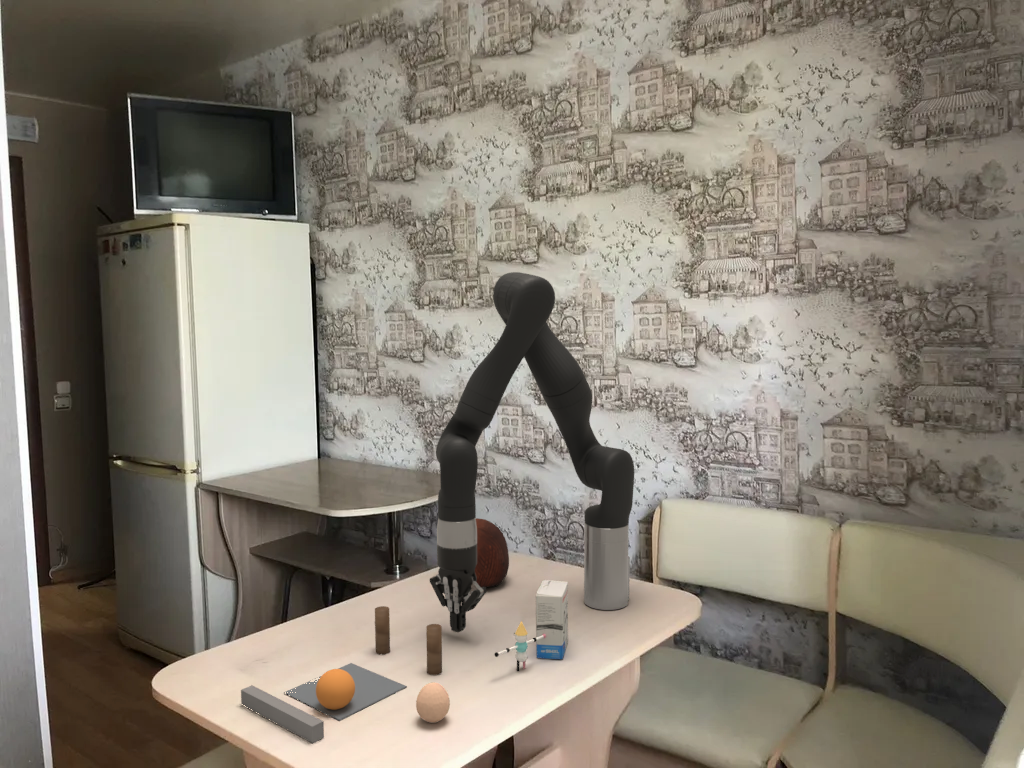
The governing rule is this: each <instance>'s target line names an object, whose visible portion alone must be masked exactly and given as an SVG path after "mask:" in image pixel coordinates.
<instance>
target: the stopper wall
mask: <svg viewBox="0 0 1024 768" xmlns="http://www.w3.org/2000/svg"><path fill="white" fill-rule="evenodd" d="M240 699H241V700H240V701H241V703H240V704H243V705H245V706H246V707H248V708H250V709H252V710H253V711H252V710H251V711H252V712H254V711H255V712H257V713H259V714H260V716H261V715H262V716H261V717H263V716H264V717H263V718H265V717H266V718H265V719H267V720H268V719H270V720H271V721H270V720H269V721H270V722H272V723H274V722H275V723H274V724H276V723H277V724H276V725H278V726H280V727H281V728H283V727H284V728H283V729H285V728H286V729H285V730H287V729H288V730H287V731H289V732H291V733H293V734H295V735H297V736H299V737H301V738H302V739H304V740H306V741H308V742H309V743H311V744H314V743H316V742H318V741H320V740H321V739H325V727H324V722H325V721H323V720H322V719H320V718H318V717H316V716H314V715H312V714H310V713H308V712H306V711H304V710H302V709H301V708H298V707H296V706H294V705H292V704H291V703H288V702H287V701H284V700H282V699H281V698H278V697H277V696H274V695H273V694H271V693H268V692H267V691H265V690H263V689H260V688H259V687H256V686H255V685H252V684H251V685H249V686H247V687H245V688H242V689H241V690H240ZM246 707H245V708H246ZM248 708H247V709H248ZM250 709H249V710H250ZM255 712H254V713H255ZM257 713H256V714H257ZM259 714H258V715H259Z"/></svg>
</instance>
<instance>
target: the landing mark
mask: <svg viewBox="0 0 1024 768" xmlns="http://www.w3.org/2000/svg"><path fill="white" fill-rule="evenodd" d="M337 669H342V670H344V671H346V672H348V673H349V674H350V675H351V676H352V678H353V680H354V683H355V693H354V696H353V698H352V700H351V701H350V702H349V703H348V704H347V705H346V706H345V707H343V708H341V709H337V710H331V709H327V708H325V707H324V706H322V705H321V704H320V702H319V701H318V699H317V696H316V686H317V683H318V681H317V680H315V681H317V682H315V681H314V682H310V681H311V680H309V681H307V682H304V683H305V684H304V683H302V684H300V685H298V686H295V687H292V688H291V689H288V690H287V691H284V692H283V694H284V693H285V692H286V694H288V695H290V696H292V697H293V698H292V697H291V698H292V699H294V698H295V699H294V700H296V699H298V700H300V701H301V702H300V701H299V702H300V703H302V702H303V704H304V703H306V704H307V705H306V704H305V705H306V706H308V705H309V707H310V706H311V707H310V708H312V707H314V708H316V709H317V710H316V709H315V710H316V711H318V710H319V712H320V711H321V713H322V712H323V714H324V713H325V715H326V714H327V715H326V716H328V715H329V717H330V716H331V718H333V719H335V720H337V721H338V722H341V721H342V720H344V719H346V718H348V717H350V716H352V715H354V714H356V713H358V712H361V711H362V710H364V709H366V708H368V707H370V706H372V705H374V704H376V703H378V702H380V701H382V700H384V699H387V698H388V697H390V696H392V695H394V694H396V693H398V692H400V691H403V690H404V689H406V688H407V685H406V684H403V683H400V682H398V681H395V680H394V679H391V678H388V677H387V676H384V675H381V674H379V673H376V672H374V671H371V670H369V669H367V668H365V667H362V666H360V665H357V664H355V663H352V662H350V663H347V664H345V665H343V666H340V667H339V668H337ZM321 676H322V675H321ZM321 676H320V675H319V676H318V677H319V678H320V677H321ZM318 680H319V679H318ZM306 683H307V684H306ZM309 683H310V684H309ZM314 683H315V684H314ZM295 688H296V689H295ZM291 690H292V691H291ZM287 692H288V693H287ZM290 692H291V693H290ZM292 692H293V693H292ZM295 692H296V693H295ZM286 694H285V695H286ZM288 695H287V696H288ZM290 696H289V697H290ZM298 700H297V701H298ZM314 708H313V709H314Z"/></svg>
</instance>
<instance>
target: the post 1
mask: <svg viewBox="0 0 1024 768" xmlns="http://www.w3.org/2000/svg"><path fill="white" fill-rule="evenodd" d="M390 625H391V624H390V607H389V606H385V605H384V606H383V605H382V606H377V607H376V608H374V633H375V634H374V635H375V636H374V637H375V646H374V647H375V654H377V655H380V654H382V655H387V654H390V652H391V637H390V635H391V633H390V632H391V631H390V630H391V628H390Z"/></svg>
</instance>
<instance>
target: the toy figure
mask: <svg viewBox="0 0 1024 768" xmlns="http://www.w3.org/2000/svg"><path fill="white" fill-rule="evenodd" d="M528 634H529V633H528V631H527V629H526V626H525V624H524V623H523V621H522V620H521V621H520V623H519V624H518V626H517V628H516V630H515V632H514V633H513V636H514V639H515V641H516V642H515V644H514V646H511V647H506V649H504V650H500V651H499V652H496V651H495V652H494V654H493V656H494V657H495V658H498V657H499V656H501V655H503V654H506V653H507V654H508V653H509V652H511V651H513V650H516V651H515V654H514V657H515V660H516V672H520V665H521V664H520V663H522V669H523V670H525V669H526V660H527V659H528V651H527V650H528V644H532V643H536V641H537V640H539V639H542V638H546V635H545V634H543V635H542V636H539V637H537V638H536V637H533V638H532V639H529V640H528V638H529V636H528Z"/></svg>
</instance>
